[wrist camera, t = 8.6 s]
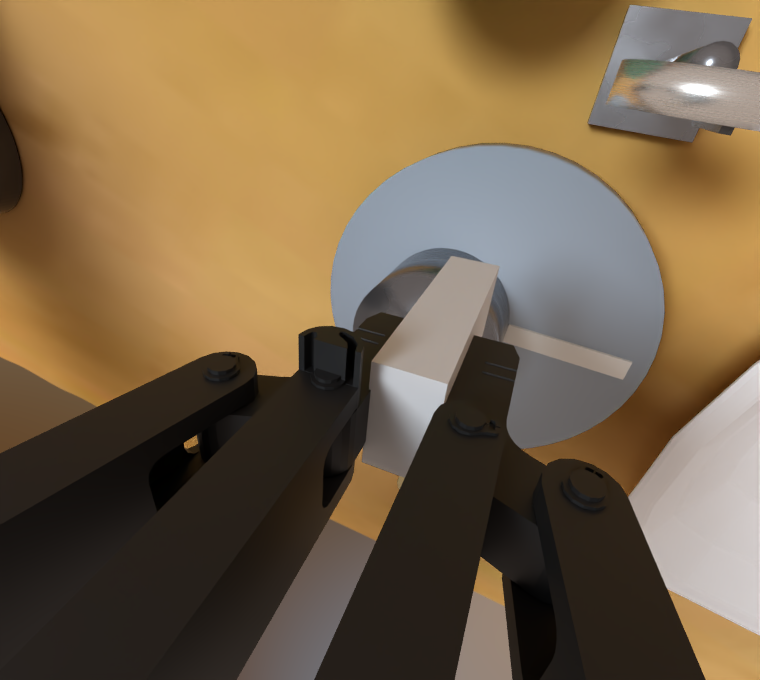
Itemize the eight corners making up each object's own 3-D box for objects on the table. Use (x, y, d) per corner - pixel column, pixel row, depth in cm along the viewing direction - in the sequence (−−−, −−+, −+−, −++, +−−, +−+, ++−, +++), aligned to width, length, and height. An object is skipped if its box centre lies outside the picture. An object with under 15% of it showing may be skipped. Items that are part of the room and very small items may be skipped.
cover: (378, 345, 31) (346, 384, 26) (393, 234, 26) (357, 260, 22) (491, 380, 28) (475, 429, 24) (526, 266, 24) (514, 301, 20)
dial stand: (587, 122, 24) (594, 149, 12) (627, 8, 21) (682, -88, 10) (687, 140, 23) (795, 188, 11) (743, 22, 20) (959, -71, 9)
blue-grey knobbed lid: (335, 374, 37) (271, 448, 29) (363, 112, 26) (273, 120, 19) (578, 464, 32) (577, 582, 24) (735, 187, 21) (822, 240, 14)
